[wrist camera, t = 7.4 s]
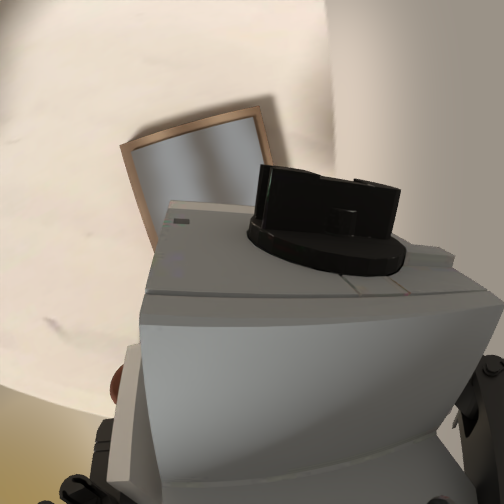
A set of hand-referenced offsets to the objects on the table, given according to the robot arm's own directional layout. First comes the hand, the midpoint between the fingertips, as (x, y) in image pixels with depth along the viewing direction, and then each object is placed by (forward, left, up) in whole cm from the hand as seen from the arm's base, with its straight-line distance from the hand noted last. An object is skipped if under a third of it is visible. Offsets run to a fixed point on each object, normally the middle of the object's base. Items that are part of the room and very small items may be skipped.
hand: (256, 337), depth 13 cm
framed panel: (0, 0, -22) cm, 22 cm away
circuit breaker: (0, 0, -4) cm, 4 cm away
